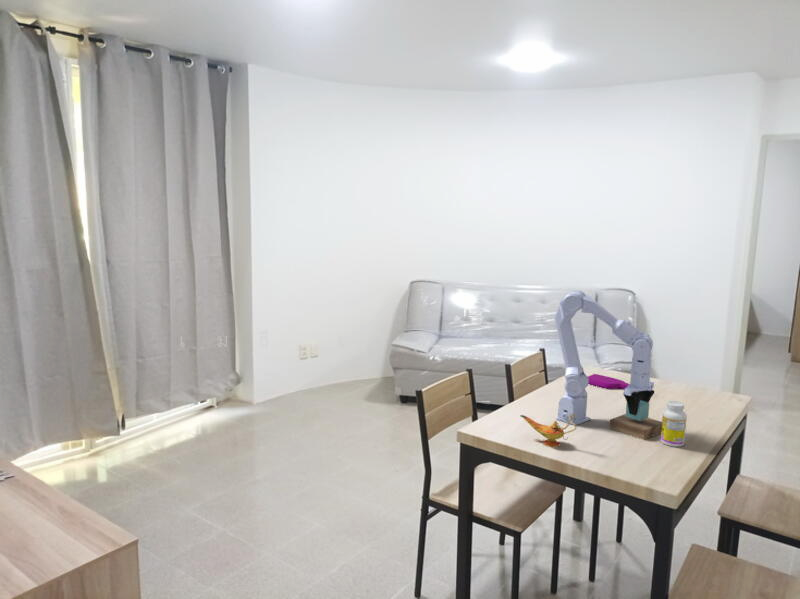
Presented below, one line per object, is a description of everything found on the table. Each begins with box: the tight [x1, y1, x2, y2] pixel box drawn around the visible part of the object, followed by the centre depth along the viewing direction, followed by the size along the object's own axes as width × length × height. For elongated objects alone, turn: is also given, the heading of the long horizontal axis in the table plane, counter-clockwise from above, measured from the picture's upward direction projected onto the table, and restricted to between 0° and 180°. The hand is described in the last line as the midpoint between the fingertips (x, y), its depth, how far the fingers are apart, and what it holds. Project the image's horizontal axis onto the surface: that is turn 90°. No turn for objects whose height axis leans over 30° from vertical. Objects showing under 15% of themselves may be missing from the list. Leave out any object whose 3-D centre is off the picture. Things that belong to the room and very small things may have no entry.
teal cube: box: [625, 400, 650, 421], centre depth 185 cm, size 5×5×5 cm
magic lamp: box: [519, 414, 577, 448], centre depth 175 cm, size 7×18×11 cm, turn 55°
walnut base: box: [608, 413, 662, 441], centre depth 186 cm, size 12×12×3 cm
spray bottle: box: [587, 373, 630, 390], centre depth 232 cm, size 3×11×25 cm
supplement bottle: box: [660, 400, 688, 448], centre depth 175 cm, size 7×7×13 cm
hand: (637, 412), depth 185 cm, fingers closed on teal cube, 5 cm apart
